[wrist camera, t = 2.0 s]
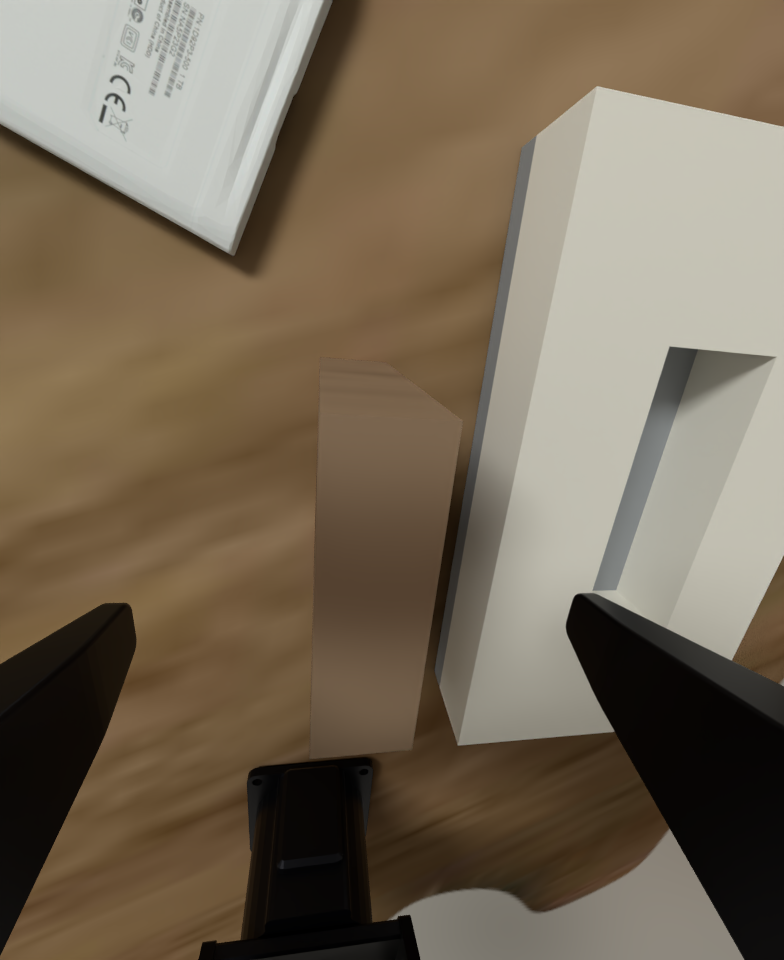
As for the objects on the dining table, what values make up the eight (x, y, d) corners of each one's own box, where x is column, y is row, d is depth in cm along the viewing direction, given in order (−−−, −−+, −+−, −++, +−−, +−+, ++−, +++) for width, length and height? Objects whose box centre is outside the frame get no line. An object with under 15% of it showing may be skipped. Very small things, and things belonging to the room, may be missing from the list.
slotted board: (641, 659, 23) (700, 724, 20) (434, 671, 21) (457, 745, 18) (821, 202, 16) (974, 168, 12) (521, 147, 13) (596, 86, 10)
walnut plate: (370, 551, 18) (411, 749, 10) (314, 551, 18) (309, 759, 10) (386, 362, 15) (463, 421, 7) (319, 357, 15) (319, 413, 7)
